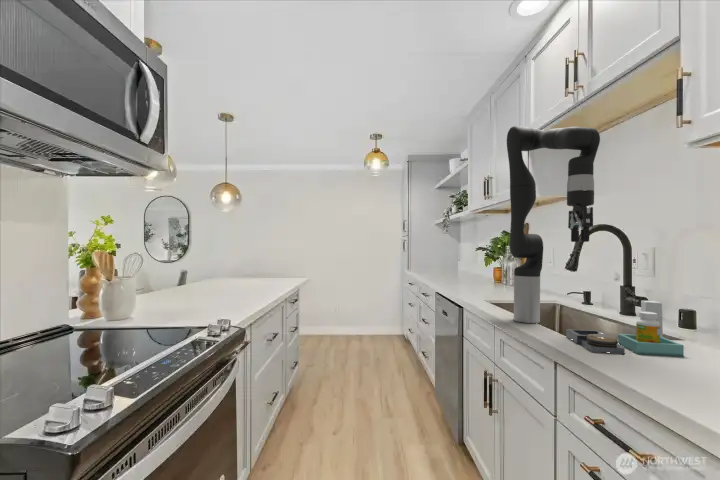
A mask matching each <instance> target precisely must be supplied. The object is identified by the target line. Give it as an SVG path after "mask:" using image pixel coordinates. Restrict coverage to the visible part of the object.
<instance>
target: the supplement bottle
mask: <svg viewBox="0 0 720 480" xmlns="http://www.w3.org/2000/svg"><path fill="white" fill-rule="evenodd" d="M638 313H639V314H638V315H639V319H637V320H636V323H635V324H636V326H635V327H636V328H635V329H636V331H635V335H636V341H638V342H648V343H660V323H659V322H658V321H656V319H657V313H653V312H641V311H639V312H638Z"/></svg>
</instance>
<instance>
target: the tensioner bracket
mask: <svg viewBox="0 0 720 480" xmlns="http://www.w3.org/2000/svg"><path fill="white" fill-rule="evenodd" d="M565 330H566V331H565V332H566V334H565V335H566V338H567V339H569V340H570V339H573V340H571V341H572V342H573V343H575V344H576V345H580V346H581V347H583V348H584V349H586V350H588V351H589V352H591V353H596V352H610V353H609V354H613V353H620V354H619V355H625V353H626V352H625V350H626V348H625V347H623V346H621V345H619V344H618V337H615V336H613V335H608V334H607V333H606V332H603V331H600V330H595V329H593V330H592V329H591V330H589V329H572V328H566V329H565Z"/></svg>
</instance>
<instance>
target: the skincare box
mask: <svg viewBox="0 0 720 480" xmlns="http://www.w3.org/2000/svg"><path fill="white" fill-rule="evenodd" d="M640 308H641V309H640V312H653V313H657V319H656V321H658V322H659V323H660V336H661V337H664V332H663V328H664V326H663V303H662V302H659V301H657V300H641V301H640Z"/></svg>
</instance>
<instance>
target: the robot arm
mask: <svg viewBox="0 0 720 480" xmlns="http://www.w3.org/2000/svg"><path fill="white" fill-rule="evenodd" d="M600 136H601V135H600V132H599V131H598V130H597V129H596V128H594V127H584V126H566V127H561V128H560V127H558V128H556V127H555V128H549V129H547V130H541V129H539V128H534V127H531V126H522V125H521V126H520V125H519V126H518V125H514V126H511V127H510V128H509V129H508V132H507V135H506V149H507V151H506V152H507V158H508V166H509V168H508V169H509V196H510V197H509V198H510V231H509V251H510V253H511V255H512V256H513V258H517V259H526V260H525V262H524V263H523V264H522V265H520V266H517V267H515V268H514V272H513V321H515V322H520V323H527V324H538V323H540V321H541V320H540V319H541V316H540V315H541V273H542V269H543V261H544V260H543V259H544V258H543V256H544V241H543V238H542V236H540V235H539V234H536V233H525V223H526V219H527V217H528V215H529V213H530V212H531V210H532V208H533V206H534V205H535V203H536V199H537V188H536V187H537V186H536V181H535V178H534V176H533V175H532V172H531V171H530V170H529V168H528V167H527V165H526V163H525V161H524V158H523V152H530V151H536V150H539V149H549V150H573V151H574V150H575V151H580V153H579V156H575V157H572V158H571V159H569V161H568V163H567V165H568V166H567V170H568V171H567V182H566V206H568V207H572V210H569V211H568V220H567V221H568V222H567V223H568V226H567V228H568V229H569V230H570V241H571V242H572V243H579V242H581V243H583V242H584V243H585V242H586V243H587V242H588V243H589V242H590V230H591V228H593V226H594V207H593V206H594V204H595V179H594V168H595V167H594V163H595V159H596V155H597V153H598V149H599V146H600V142H601V137H600Z"/></svg>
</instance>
